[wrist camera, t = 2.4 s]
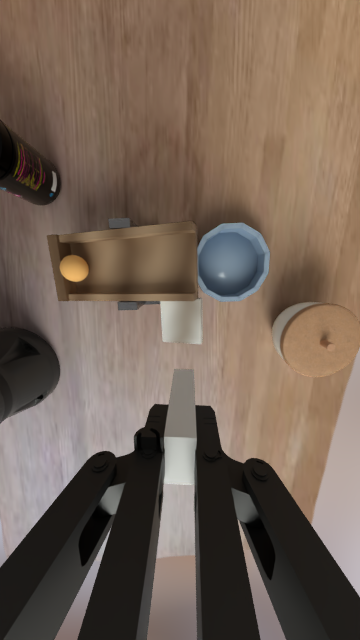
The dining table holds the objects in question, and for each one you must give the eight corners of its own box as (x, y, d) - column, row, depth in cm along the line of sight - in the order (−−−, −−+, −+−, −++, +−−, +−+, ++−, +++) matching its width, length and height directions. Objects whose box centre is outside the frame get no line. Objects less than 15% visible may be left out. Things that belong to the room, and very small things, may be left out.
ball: (77, 281, 27) (56, 282, 24) (73, 256, 26) (51, 255, 23) (96, 280, 26) (75, 282, 23) (92, 255, 25) (70, 253, 22)
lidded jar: (287, 284, 33) (327, 289, 24) (336, 317, 34) (392, 334, 25) (249, 336, 35) (272, 359, 26) (296, 365, 37) (334, 397, 27)
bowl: (193, 299, 34) (194, 302, 30) (191, 229, 31) (192, 224, 28) (258, 297, 34) (266, 300, 30) (262, 227, 31) (272, 221, 28)
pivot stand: (122, 304, 34) (101, 316, 25) (114, 229, 31) (87, 212, 22) (162, 303, 34) (155, 314, 25) (158, 227, 31) (149, 210, 22)
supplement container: (15, 154, 29) (-73, 92, 19) (61, 158, 29) (-3, 98, 19) (20, 205, 31) (-59, 172, 21) (64, 208, 31) (6, 178, 21)
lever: (81, 334, 30) (65, 340, 27) (66, 239, 27) (46, 235, 24) (202, 341, 25) (198, 350, 22) (201, 225, 22) (196, 219, 19)
